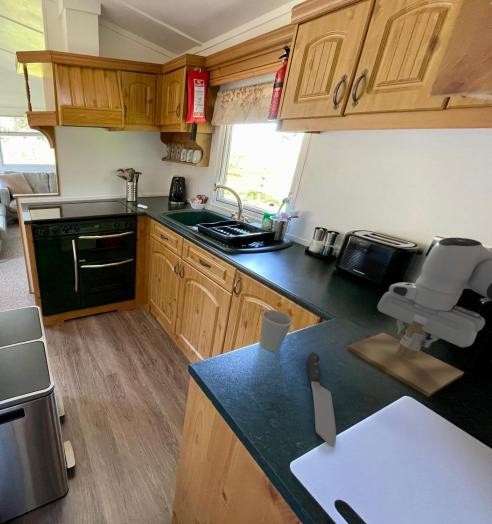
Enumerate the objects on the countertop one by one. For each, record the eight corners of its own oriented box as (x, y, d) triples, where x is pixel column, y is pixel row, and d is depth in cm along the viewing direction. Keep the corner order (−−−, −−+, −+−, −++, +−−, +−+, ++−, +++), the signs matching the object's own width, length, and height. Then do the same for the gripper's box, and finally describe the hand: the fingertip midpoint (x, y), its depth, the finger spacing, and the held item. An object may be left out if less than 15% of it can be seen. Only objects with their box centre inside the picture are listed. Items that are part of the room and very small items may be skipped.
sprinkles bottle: (393, 348, 86) (411, 309, 81) (412, 353, 84) (432, 314, 80) (397, 357, 82) (417, 316, 78) (418, 362, 81) (439, 321, 76)
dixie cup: (290, 352, 85) (299, 323, 81) (267, 356, 82) (275, 326, 79) (271, 335, 92) (278, 308, 89) (249, 338, 90) (256, 310, 86)
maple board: (462, 375, 80) (464, 372, 80) (428, 397, 72) (430, 393, 71) (381, 335, 97) (383, 332, 96) (346, 348, 88) (347, 345, 88)
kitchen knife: (345, 449, 56) (319, 433, 57) (337, 455, 57) (312, 440, 58) (327, 358, 81) (309, 348, 82) (321, 364, 82) (304, 354, 83)
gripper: (494, 314, 69) (466, 361, 74) (395, 280, 86) (378, 320, 91) (483, 319, 67) (456, 367, 72) (383, 283, 84) (367, 323, 89)
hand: (412, 340), depth 82 cm, fingers closed on sprinkles bottle, 4 cm apart
